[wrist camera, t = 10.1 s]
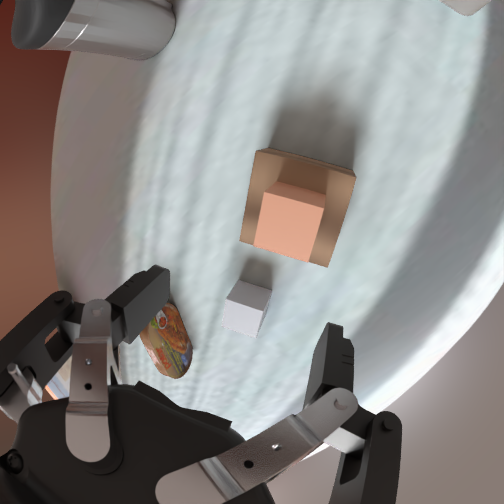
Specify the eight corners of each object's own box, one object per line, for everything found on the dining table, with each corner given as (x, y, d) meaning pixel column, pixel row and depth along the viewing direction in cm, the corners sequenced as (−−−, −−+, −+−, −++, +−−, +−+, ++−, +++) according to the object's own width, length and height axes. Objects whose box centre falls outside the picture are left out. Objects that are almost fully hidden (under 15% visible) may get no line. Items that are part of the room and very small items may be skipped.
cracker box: (81, 322, 60) (30, 370, 42) (94, 327, 58) (42, 379, 40) (101, 360, 66) (59, 407, 48) (114, 366, 64) (72, 416, 46)
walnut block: (267, 147, 30) (255, 150, 25) (352, 170, 28) (356, 177, 24) (252, 225, 34) (239, 241, 30) (329, 248, 33) (327, 267, 28)
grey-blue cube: (238, 279, 39) (225, 298, 34) (272, 290, 38) (263, 311, 33) (233, 306, 41) (221, 326, 37) (265, 316, 40) (255, 338, 36)
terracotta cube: (276, 181, 26) (264, 191, 22) (326, 194, 25) (324, 208, 21) (266, 227, 28) (253, 245, 24) (313, 240, 28) (308, 262, 23)
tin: (197, 357, 49) (177, 388, 42) (183, 355, 51) (163, 385, 43) (172, 292, 44) (144, 322, 36) (157, 292, 45) (129, 320, 38)
